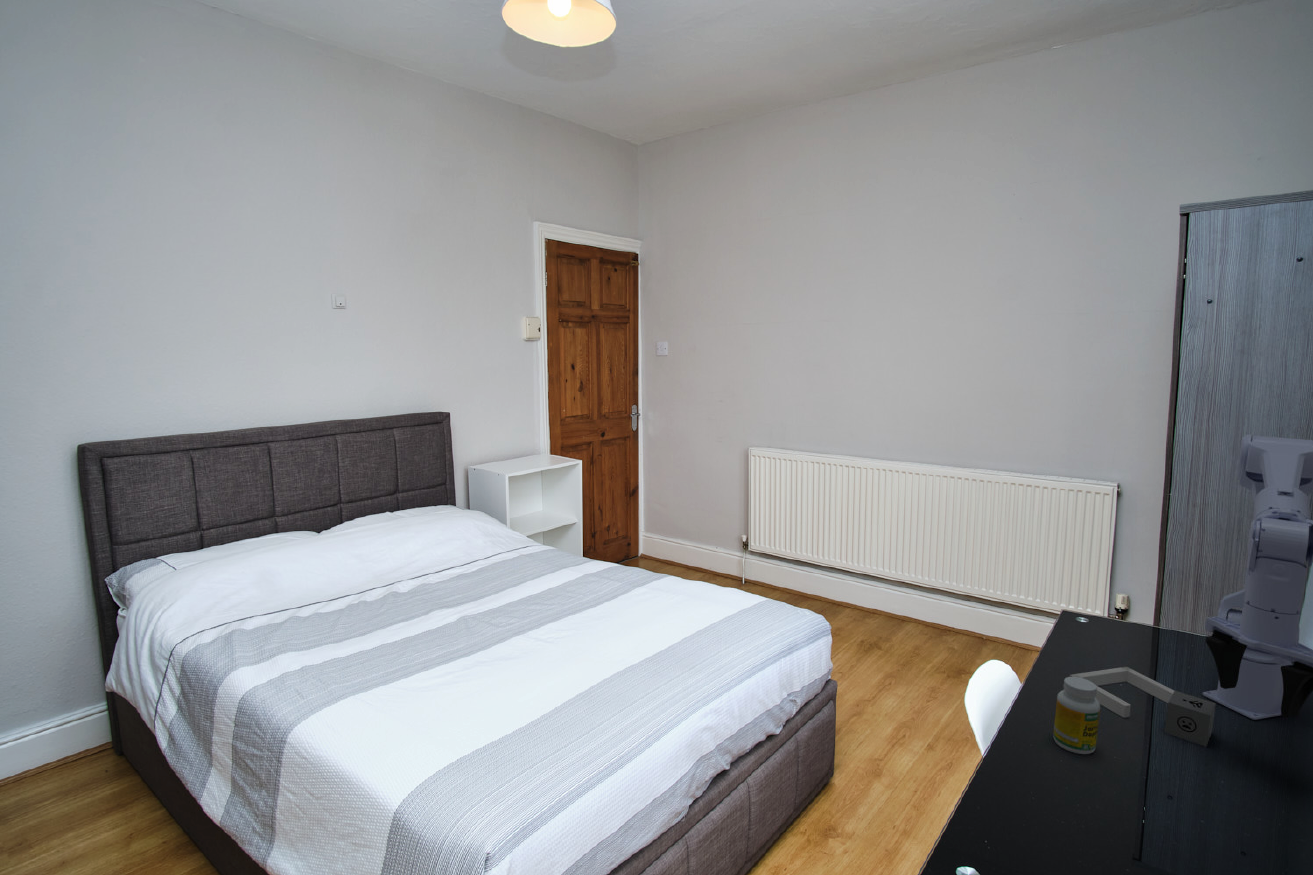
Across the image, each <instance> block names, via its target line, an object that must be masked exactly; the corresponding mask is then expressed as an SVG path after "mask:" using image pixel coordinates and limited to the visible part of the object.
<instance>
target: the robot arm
mask: <svg viewBox="0 0 1313 875" xmlns="http://www.w3.org/2000/svg"><path fill="white" fill-rule="evenodd" d="M1237 469H1238V470H1237V480H1238V485H1239V486H1241V487H1243V488H1245V489H1247V490H1250V492H1251V495H1252V499H1253V504H1254V507H1253V515H1252V521H1251V523H1250V526H1249V532H1248V541H1247V560H1246V561H1247V562H1246V569H1245V577H1244V583H1243V589H1241V590H1238V591H1236V592H1233V593H1230V594H1227V595H1225V596H1223V597H1222V599H1220V602H1219V608H1218V610H1217V616H1210V617H1209V616H1208V617H1206V618H1205V627H1204V630H1205V631H1207V632H1209V633H1211V635H1208V636H1205V643H1206V645H1207V647H1208V648H1209V651H1210V653H1211V655H1212V656H1213V660H1214V663H1215V665H1216V669H1217V675H1218V682H1217V683H1218V684H1217V688H1216V689H1214V690H1213V689H1212V690H1209V691H1208V690H1207V691H1203V692H1202V695H1203V696H1204V697H1205V698H1208V699H1210V700H1212V701H1214V702H1215V703H1218V704H1220V705H1222V706H1225V707H1226V708H1228V709H1230V710H1233V711H1235V713H1238V714H1241V715H1243V716H1245V717H1247V718H1249V719H1251V720H1255V721H1256V720H1257V721H1258V720H1262V719H1268V718H1272V717H1273V718H1274V717H1277V716H1278V717H1279V716H1283V717H1285V718H1293V717H1298V716H1299V715H1300V712H1301V710H1302V708H1303V706H1304V704H1305V703H1306V701H1307V699H1308V698H1309V697H1310V695H1311V694H1312V693H1313V649H1312V648H1310V647H1308V646H1306V645H1303V644H1302V643H1300V630H1301V629H1300V619H1301V618H1300V617H1301V611H1302V606H1303V599H1304V594H1305V587H1306V580H1307V579H1306V578H1307V572H1308V567H1309V568H1310V567H1311V566H1312V565H1313V519H1311V505H1310V504H1311V501H1310V499H1309V497H1308V496H1307V495H1308V494H1312V493H1313V439H1303V438H1301V439H1300V438H1288V437H1275V436H1267V435H1266V436H1264V435H1252V434H1251V433H1249V434H1248V433H1247V434H1246V435H1244V436H1242V437H1241V442H1240V448H1239V455H1238V464H1237ZM1305 561H1306V562H1307V565H1308V567H1307V565H1306V564H1305ZM1236 608H1242V610H1240V609H1236Z"/></svg>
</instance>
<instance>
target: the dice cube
mask: <svg viewBox="0 0 1313 875" xmlns="http://www.w3.org/2000/svg"><path fill="white" fill-rule="evenodd" d="M1216 704H1217V702H1213V701H1210V700H1206V699H1204V698H1200V697H1197V696H1193V695H1190V694H1187V693H1183V692H1181V691H1177V690H1174V693H1173V695H1172V696H1171V698H1170V700H1169V702H1168V703H1167V710H1166V717H1165V725H1164V732H1163V733H1165V734H1168V735H1171V736H1174V737H1176V738H1179V739H1182V740H1186V741H1188V742H1191V743H1194V744H1196V745H1200V746H1202V745H1203V747H1207V746H1208V743H1209V741H1210V739H1209V738H1211V736H1212V734H1211V733H1212V732H1213V726H1214V719H1215V712H1216V706H1217V705H1216Z"/></svg>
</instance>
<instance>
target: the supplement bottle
mask: <svg viewBox="0 0 1313 875" xmlns="http://www.w3.org/2000/svg"><path fill="white" fill-rule="evenodd" d="M1063 681H1064V682H1063V689H1062V690H1060V691H1059V692H1058V694H1057V696H1056V705H1055V706H1056V707H1055V715H1054V717H1055V718H1054V725H1053V726H1054V727H1053V735H1052V736H1053V739H1054V742H1055V743H1056V744H1057V745H1058V746H1059V747H1060V748H1062V749H1064V750H1066V751H1068V752H1071V753H1074V754H1078V755H1090V754H1092V753H1094V752H1095V750H1096V747H1097V740H1098V739H1097V738H1098V732H1099V723H1100V721H1099V720H1100V715H1101V704H1099V702H1098V700H1097V699H1096V698H1095V696H1096V693H1097V687H1096V685H1095V684H1094V683H1092V682H1091V681H1089V680H1086V679H1083V678H1079V677H1070V676H1067V677H1065V678H1064V680H1063Z"/></svg>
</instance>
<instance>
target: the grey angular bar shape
mask: <svg viewBox="0 0 1313 875" xmlns="http://www.w3.org/2000/svg"><path fill="white" fill-rule="evenodd" d="M1069 677H1079V678H1083V679H1086V680H1089V681H1091V682H1092V683H1094V684H1095V685H1096V687H1097V693H1096V696H1095V698H1096V699H1097V700H1098V702H1099V704H1100V706H1103V707H1105V708H1106V709H1107V710H1110V711H1111V712H1113V713H1115V714H1117V715H1118V716H1120V717H1122V718H1123V719H1124V718H1126V719H1127V718H1130V715H1131V707H1132V705H1131V704H1130V703H1129V702H1126V701H1124V700H1123V699H1121V698H1120V697H1118V696H1115V695H1114V694H1112V693H1110V692H1108V691H1107V690H1105V689H1103V688H1101V687H1099V686H1105V685H1112V684H1118V683H1125V682H1126V683H1128V684H1130V685H1131V686H1134V687H1136V688H1138V689H1139V690H1142V691H1143V692H1146V693H1147V694H1149V695H1151V696H1153V697H1154V698H1157V699H1158V700H1161V701H1162V702H1164V703H1166V704H1168V702H1169V700H1170V698H1171V696H1172V695H1173V693H1174V691H1175V689H1172V688H1170V687H1168V686H1165V685H1164V684H1162V683H1160V682H1158V681H1156V680H1154V679H1152V678H1149V677H1147V676H1146V675H1143V674H1142V673H1140V672H1138V671H1136V670H1134V669H1132V668H1130V667H1128V666H1121V667H1115V668H1108V669H1102V670H1094V671H1093V670H1092V671H1089V672H1087V671H1086V672H1080V673H1073V674H1069Z"/></svg>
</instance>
